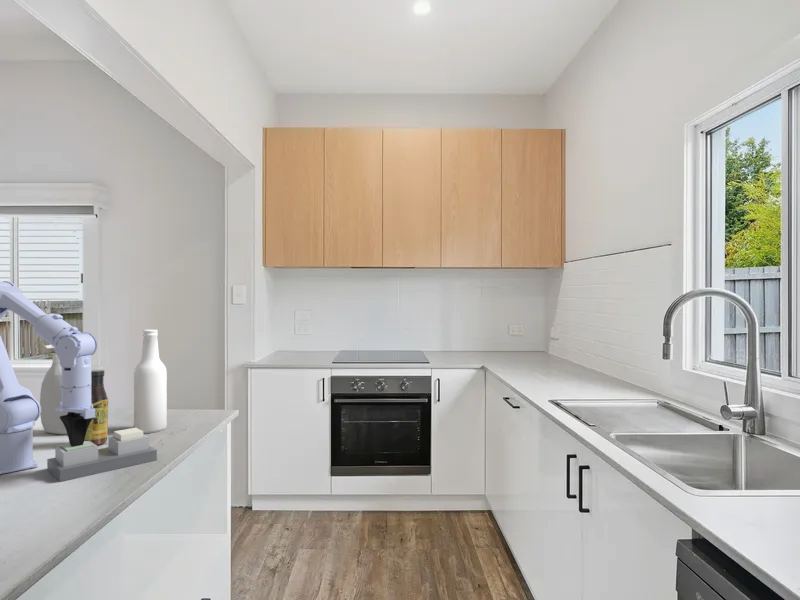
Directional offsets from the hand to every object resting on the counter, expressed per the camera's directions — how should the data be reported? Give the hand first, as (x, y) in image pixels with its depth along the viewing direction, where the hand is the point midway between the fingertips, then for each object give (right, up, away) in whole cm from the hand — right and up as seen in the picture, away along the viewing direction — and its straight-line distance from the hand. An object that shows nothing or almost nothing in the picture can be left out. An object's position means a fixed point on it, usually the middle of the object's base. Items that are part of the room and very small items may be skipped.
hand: (76, 445), depth 116 cm
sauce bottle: (-9, -6, +21) cm, 24 cm away
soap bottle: (-26, -6, +32) cm, 42 cm away
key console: (+4, -6, +4) cm, 8 cm away
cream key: (+8, 0, +8) cm, 11 cm away
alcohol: (-1, -6, +36) cm, 36 cm away
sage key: (0, -1, 0) cm, 1 cm away
